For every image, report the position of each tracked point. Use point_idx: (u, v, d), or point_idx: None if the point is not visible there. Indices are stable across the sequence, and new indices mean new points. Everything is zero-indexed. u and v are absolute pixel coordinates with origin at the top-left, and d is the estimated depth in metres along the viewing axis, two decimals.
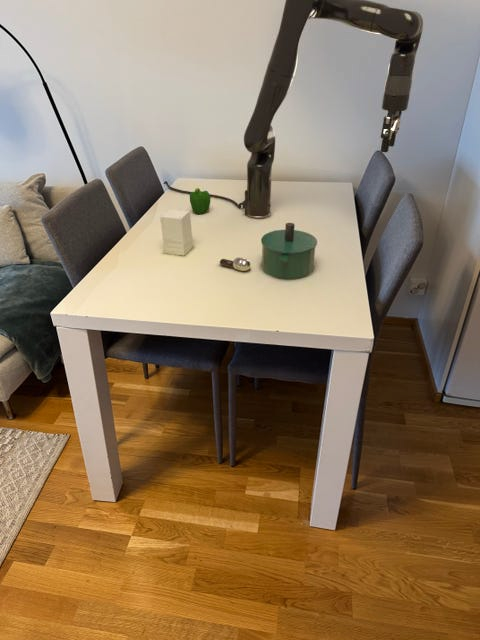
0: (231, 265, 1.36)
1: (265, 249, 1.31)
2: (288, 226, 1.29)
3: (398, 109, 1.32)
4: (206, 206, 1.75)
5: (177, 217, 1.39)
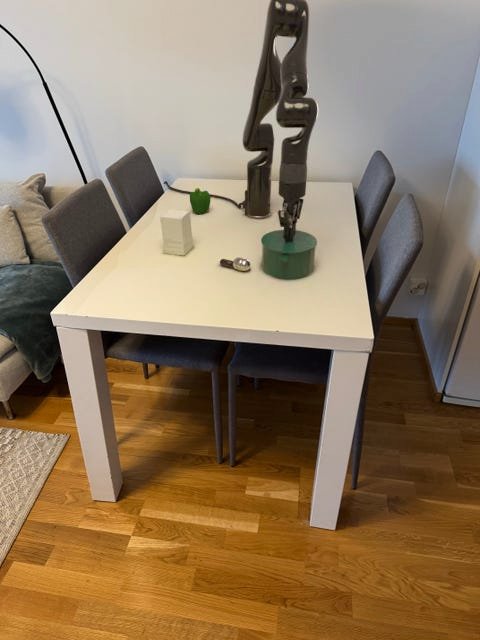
0: (231, 265, 1.36)
1: (265, 249, 1.31)
2: None
3: (293, 197, 1.22)
4: (206, 206, 1.75)
5: (177, 217, 1.39)
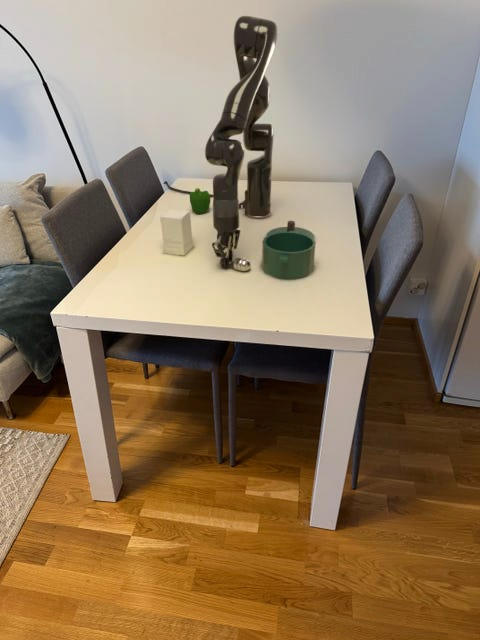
0: (231, 265, 1.36)
1: (265, 249, 1.31)
2: (289, 223, 1.52)
3: (226, 230, 1.28)
4: (206, 206, 1.75)
5: (177, 217, 1.39)
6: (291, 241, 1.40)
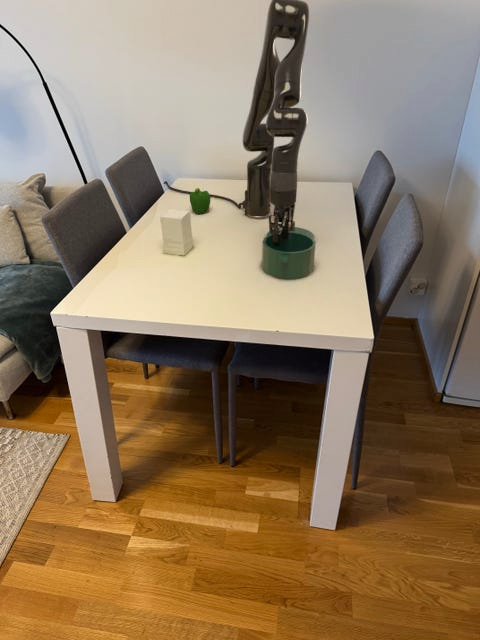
0: None
1: (265, 249, 1.31)
2: None
3: (284, 204, 1.24)
4: (206, 206, 1.75)
5: (177, 217, 1.39)
6: (291, 241, 1.40)
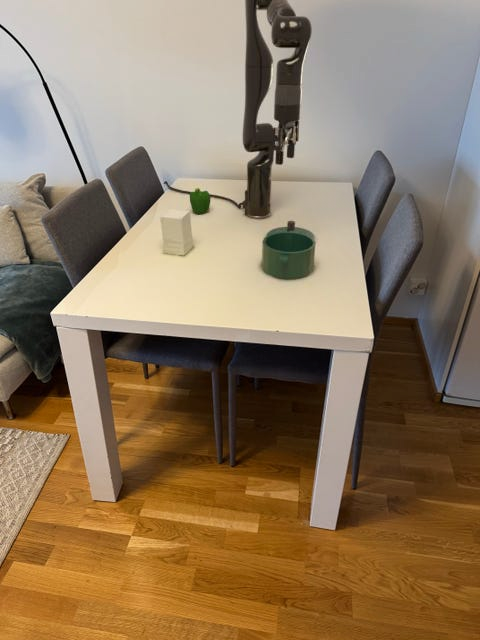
0: None
1: (265, 249, 1.31)
2: (289, 223, 1.52)
3: (288, 120, 1.25)
4: (206, 206, 1.75)
5: (177, 217, 1.39)
6: (291, 241, 1.40)
